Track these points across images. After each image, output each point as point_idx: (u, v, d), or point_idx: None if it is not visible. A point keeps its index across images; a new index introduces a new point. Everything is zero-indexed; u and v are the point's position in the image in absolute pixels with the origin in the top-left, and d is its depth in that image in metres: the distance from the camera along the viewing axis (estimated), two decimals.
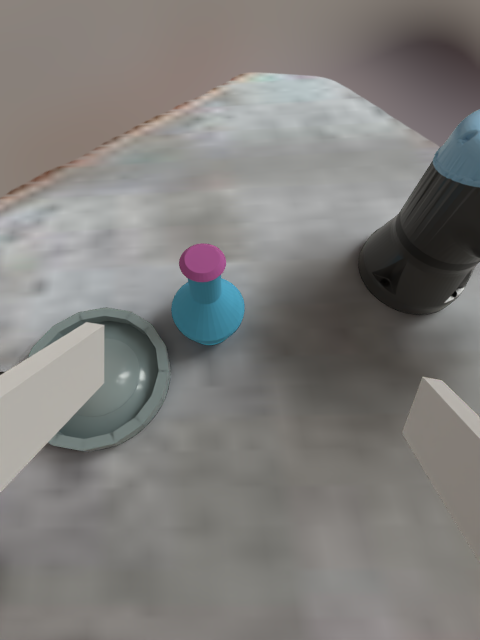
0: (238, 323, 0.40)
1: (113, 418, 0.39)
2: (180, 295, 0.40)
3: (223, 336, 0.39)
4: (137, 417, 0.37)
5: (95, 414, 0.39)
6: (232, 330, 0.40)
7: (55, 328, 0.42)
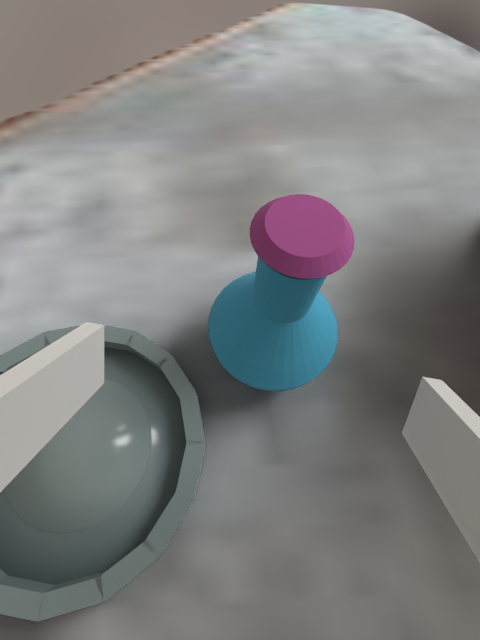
0: (331, 355, 0.22)
1: (102, 535, 0.21)
2: (227, 305, 0.22)
3: (307, 380, 0.21)
4: (148, 541, 0.19)
5: (68, 526, 0.21)
6: (322, 368, 0.22)
7: (1, 361, 0.24)
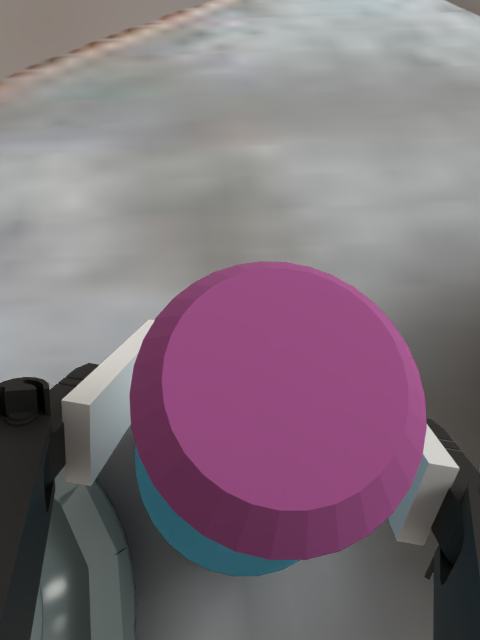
0: None
1: None
2: None
3: None
4: None
5: None
6: None
7: None
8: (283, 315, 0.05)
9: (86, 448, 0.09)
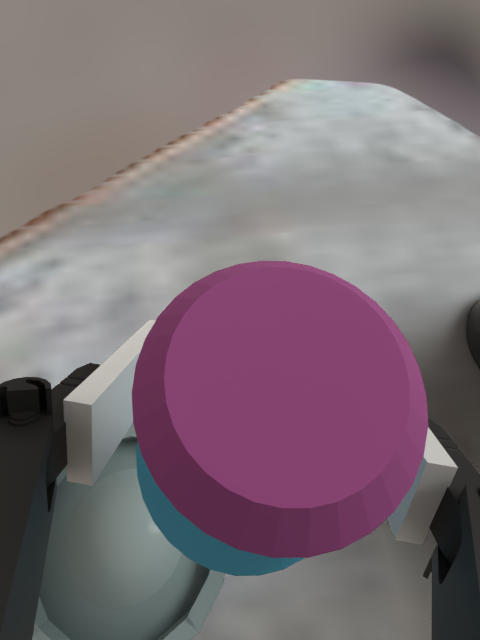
0: None
1: (150, 610, 0.26)
2: None
3: None
4: (189, 618, 0.24)
5: (122, 603, 0.26)
6: None
7: None
8: (285, 314, 0.05)
9: (88, 448, 0.09)
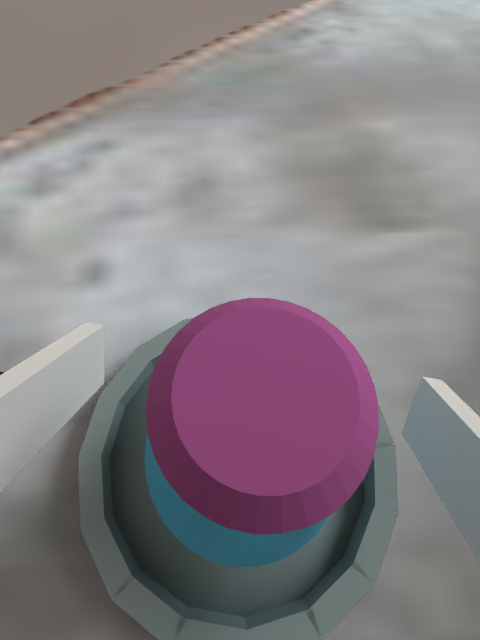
0: None
1: (288, 556, 0.17)
2: None
3: (296, 549, 0.13)
4: (358, 564, 0.16)
5: None
6: (320, 525, 0.14)
7: (142, 353, 0.20)
8: (264, 346, 0.06)
9: None
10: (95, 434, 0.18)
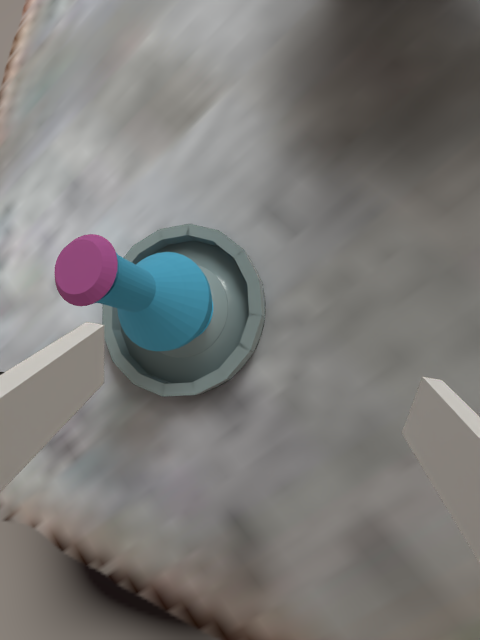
0: (206, 293, 0.28)
1: (228, 334, 0.32)
2: (119, 314, 0.28)
3: (201, 321, 0.28)
4: (251, 313, 0.31)
5: (208, 343, 0.33)
6: (206, 306, 0.28)
7: None
8: (72, 256, 0.20)
9: None
10: (112, 348, 0.34)
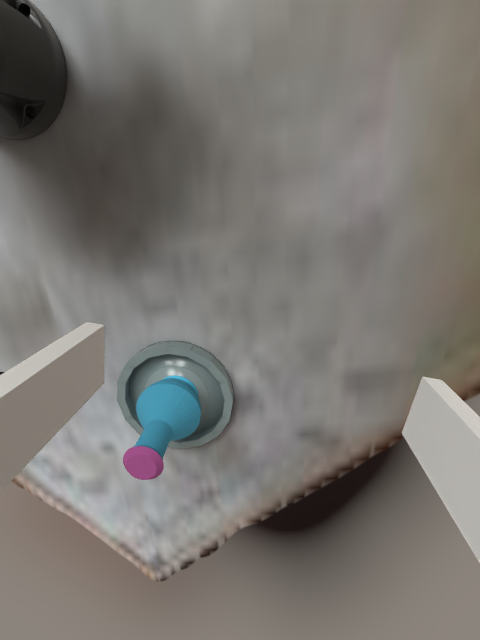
0: (181, 389, 0.44)
1: (209, 380, 0.49)
2: None
3: (195, 401, 0.45)
4: (206, 366, 0.46)
5: (206, 393, 0.50)
6: (188, 394, 0.44)
7: (141, 433, 0.51)
8: (133, 466, 0.36)
9: None
10: (173, 445, 0.51)
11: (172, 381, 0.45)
